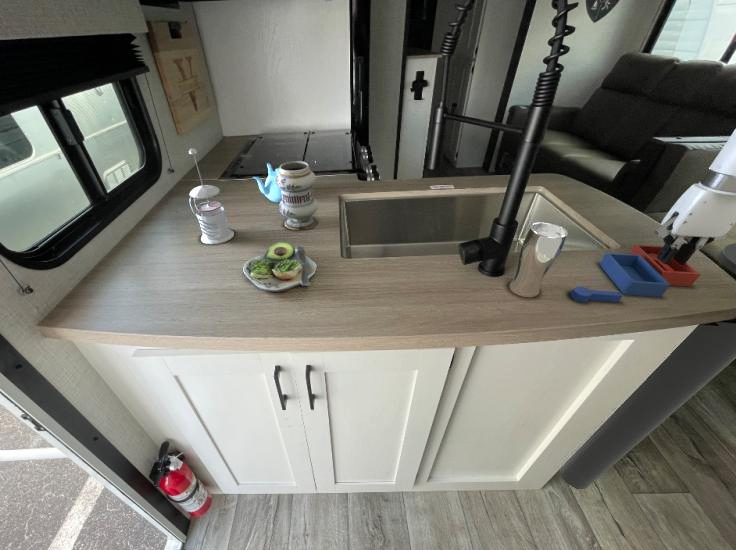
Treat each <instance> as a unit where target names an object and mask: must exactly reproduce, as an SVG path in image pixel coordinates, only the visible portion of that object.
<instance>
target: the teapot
mask: <svg viewBox="0 0 736 550" xmlns="http://www.w3.org/2000/svg"><path fill="white" fill-rule="evenodd" d="M266 167H267V171H268V172H267V173H268V174H267V175H268V176H267V177H266V180H265V183H264V182H263V181H262V178H261V177H259V176H252V179H254V180H256V182H257V184H258V188H259V191H260V192H261V193H262V194H263V195H264V196H265V197H266V198H267V199H269V200H270V201H271V202H274V203H275V202H276V203H280V202H281V201H282V195H281V188H279V187H278V186H277V184H276V181H275V179H276V176H277V175H278V174H279V171H280V167H277V168H275V170H273V166H272V165H271V164H270V163H269V162H266Z"/></svg>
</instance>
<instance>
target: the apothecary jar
mask: <svg viewBox="0 0 736 550" xmlns="http://www.w3.org/2000/svg"><path fill="white" fill-rule="evenodd" d="M279 168H280V171H279V174H278V175H277V176H276V179H275V181H276V184H277V186H278V187H279V188H281V195H282V201H281V202H279V205H278V210H279V212H280V213H281V215H282V216H284V217H285V218H287V219H286V220H285V221H284V227H286V228H287V229H289V230H292V231H302V230H309V229H311V228H313V227H314V226H315V225H316V219H315V218H313V216H314V214H316V212H317V211H318V209H319V203H318V201H317V199H316V198H315V197H314V189H313V186H314V185H315V183H316V181H317V177H316V174H315V173H314V172H313V171H312V170H311V169H310V165H309V163H307V162H306V161H304V160H303V161H302V160H296V161H295V160H294V161H293V160H292V161H288V162H284V163H282V164H280V165H279Z"/></svg>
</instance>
